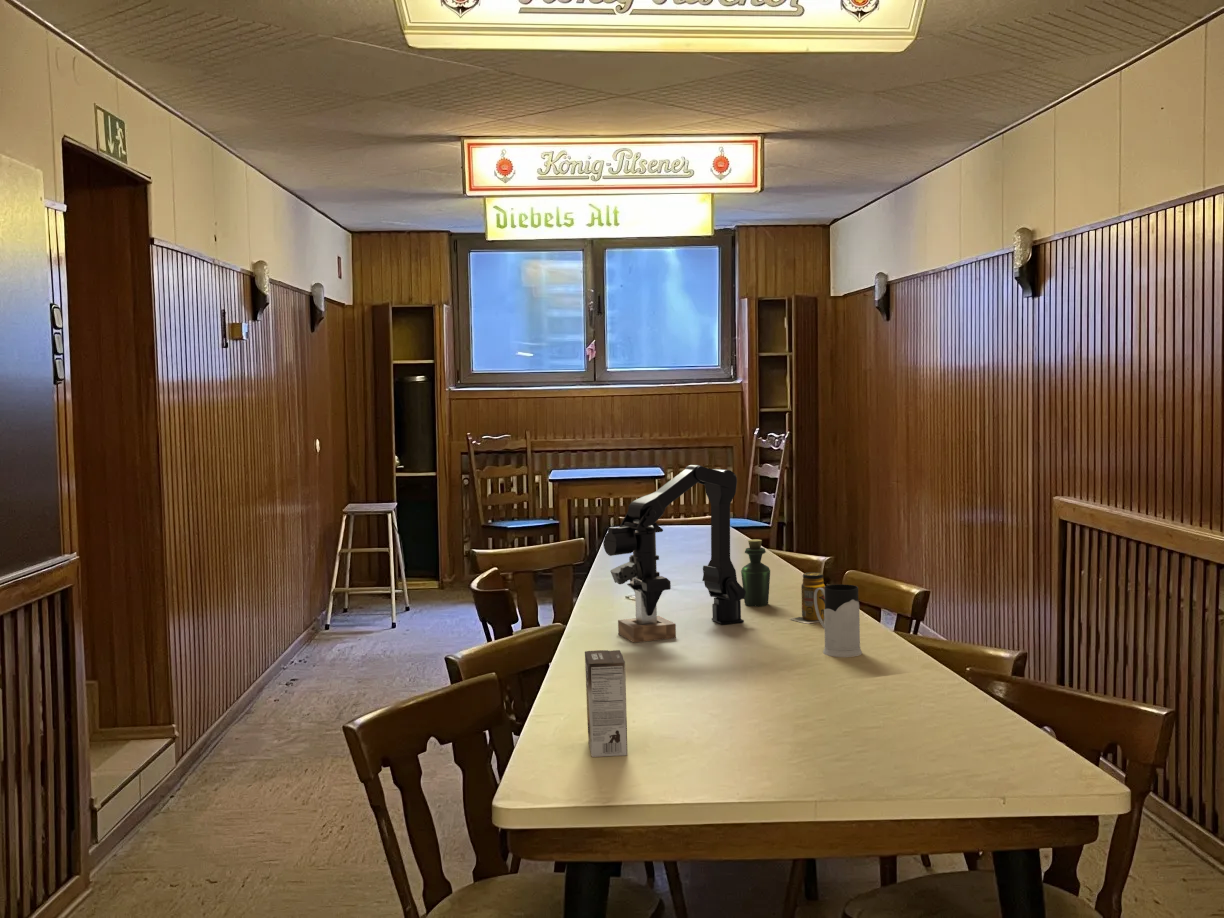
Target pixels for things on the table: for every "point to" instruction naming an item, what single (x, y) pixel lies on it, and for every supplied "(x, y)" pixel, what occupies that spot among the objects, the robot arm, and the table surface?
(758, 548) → the potion bottle
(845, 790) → the table surface
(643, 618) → the grey long rectangular block
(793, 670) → the table surface
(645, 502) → the robot arm
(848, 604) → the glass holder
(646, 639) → the block
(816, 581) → the condiment
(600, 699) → the coffee box
